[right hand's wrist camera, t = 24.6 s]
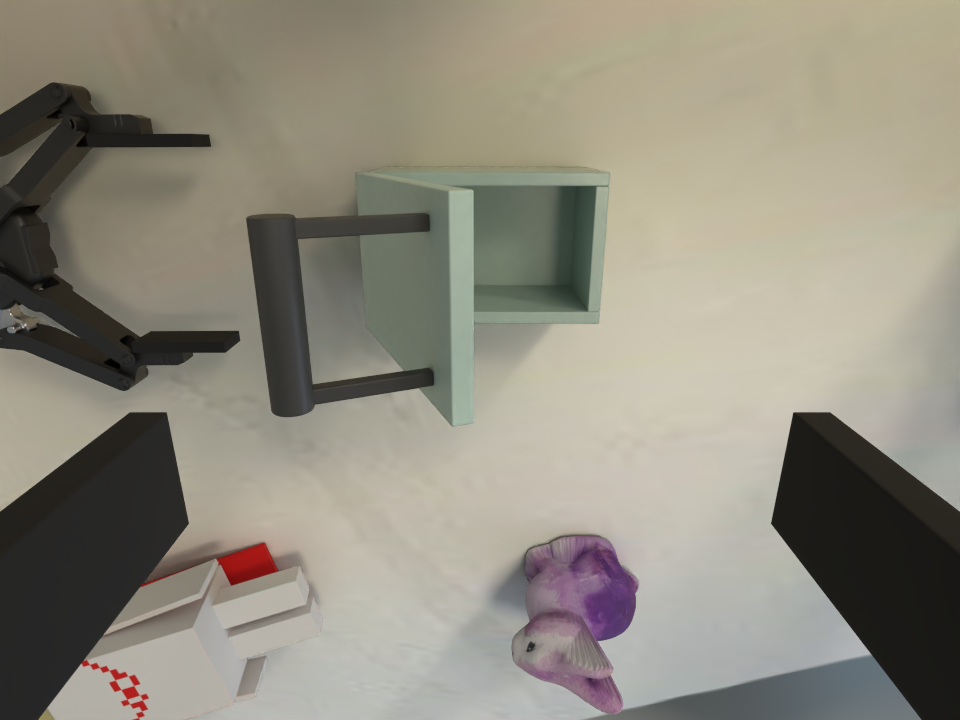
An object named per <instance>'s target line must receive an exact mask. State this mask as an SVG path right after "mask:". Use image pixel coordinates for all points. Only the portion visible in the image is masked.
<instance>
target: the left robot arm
mask: <svg viewBox="0 0 960 720" xmlns="http://www.w3.org/2000/svg"><path fill="white" fill-rule="evenodd" d="M90 101H91V95H90V93H89V91H88V90H87V89H86V88H84V87H82V86H75V85H69V84H62V83H54V82H53V83H50V84H48V85H47V86H45V87H44V88H42V89H41V90H39V91H37V92H36V93H34V94H33V95H31V96H29V97H28V98H26V99H25V100H23V101H22V102H20V103H18V104H17V105H15V106H14V107H12V108H11V109H9V110H7V111H6V112H4V113H3V114H1V115H0V157H2V156H5V155H7V154H9V153H11V152H13V151H14V150H16V149H18V148H19V147H21V146H23V145H24V144H26V143H27V142H29V141H31V140H32V139H34V138H36V137H37V136H39V135H40V134H42V133H44V132H45V131H47V130H48V129H50V128H52V127H53V126H55V125H57V124H58V123H60V122H61V121H62V122H61V123H60V124H59V126H58V127H57V128H56V129H55V130H54V131H53V133H52V134H51V135H50V136H49V137H48V138H47V140H46V141H45V142H44V143H43V144H42V145H41V147H40V148H39V149H38V150H37V151H36V152H35V153H34V155H33V156H32V157H31V158H30V159H29V160H28V162H27V163H26V164H25V165H24V166H23V167H22V169H21V170H20V171H19V172H18V173H17V174H16V175H15V177H14V178H13V179H12V180H11V181H10V182H9V183H8V184H7V185H5V186H3V187H1V188H0V348H6V349H16V350H24V351H27V352H29V353H32V354H34V355H36V356H39V357H41V358H44V359H46V360H49V361H51V362H53V363H56V364H58V365H61V366H63V367H66V368H68V369H70V370H73V371H75V372H78V373H80V374H83V375H85V376H87V377H90V378H92V379H95V380H97V381H99V382H102V383H104V384H107V385H109V386H112V387H114V388H116V389H119V390H122V391H126V390H128V389H130V388H131V387H133V386H134V385H136V384H137V383H139V382H140V381H141V380H143V379H144V378H146V377H147V376H148V369H147V368H146V367H147V365H179V364H181V363H184V362H185V361H187V360H188V359H189V358H191V357H192V356H193V353H226V352H227V351H228V350H229V349H230V348H232V347H233V346H234V345H235V344H237V343H238V342H239V341H240V336H239V331H151V332H149V333H147V334H145V335H144V336H142V337H139V336H138V335H136V334H135V333H133V332H132V331H130V330H129V329H128V328H126V327H125V326H123V325H122V324H120V323H119V322H117V321H116V320H114V319H113V318H111V317H110V316H109V315H107V314H106V313H104V312H103V311H101V310H100V309H98V308H97V307H95V306H94V305H93V304H91V303H90V302H88V301H87V300H85V299H84V298H82V297H81V296H79V295H78V294H77V293H75V292H74V291H73V287H72V286H71V285H70V284H69V283H67V282H66V281H64V280H63V279H61V278H60V277H59V276H57V275H56V274H54V268H57V267H58V264H57V260H56V256H55V255H54V253H53V251H52V249H51V247H50V233H49V229H48V225H47V223H43V222H42V220H41V219H40V217H39V216H38V215H37V214H38V213H39V212H40V211H41V210H42V209H43V208H44V206H45V205H46V204H47V203H48V202H49V201H50V199H51V197H50V195H51V194H52V193H53V191H54V190H55V189H56V188H57V187H58V186H59V185H60V184H61V182H62V181H63V180H64V179H65V178H66V177H67V176H68V175H69V173H70V172H71V171H72V170H73V169H74V168H75V167H76V166H77V164H78V163H79V162H80V161H81V160H82V159H83V158H84V157H85V155H86V154H87V153H88V152H89V151H90V150H91V149H92V148H93V147H211V144H210V137H209V135H204V134H153V130H152V125H151V119H149V118H147V117H144V116H141V115H101V114H99V113H97V112H96V111H95V110H94V108H93V107H92V105H91V103H90ZM41 287H42V288H43V290H39V289H40V288H41ZM21 304H23V305H24V306H26V307H27V308H29V309H31V310H33V311H38V312H42V313H44V314H46V315H47V316H49V317H50V318H52V319H53V320H55V321H56V322H58V323H59V324H61V325H62V326H64V327H65V328H67V329H68V330H70V331H71V332H73V333H74V334H76V335H77V336H79V337H80V338H79V337H76V336H74V335H71V334H69V333H67V332H64V331H62V330H60V329H57V328H54V327H52V326H48V325H44V324H39V320H38V319H37V318H36V317H30V316H27V315H25V314H23V313H22V312H21V311H20V309H19V305H21ZM81 338H82V339H81Z"/></svg>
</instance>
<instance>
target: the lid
mask: <svg viewBox="0 0 960 720" xmlns="http://www.w3.org/2000/svg"><path fill="white" fill-rule="evenodd" d="M355 176H356V191H357V206H358V216H338V217H315V218H295V216H294V215H290V214H261V215H252V216H249V217H247V218H246V220H247V228H248V236H249V243H250V251H251V259H252V266H253V274H254V281H255V289H256V297H257V304H258V312H259V319H260V327H261V335H262V342H263V350H264V358H265V365H266V373H267V380H268V388H269V396H270V403H271V411H272V413H273V414H275V415H277V416H280V417H295V416H300V415H304V414H306V413H308V412H310V411H312V410H313V408H314V406H315V404H322V403H328V402H334V401H341V400H347V399H353V398H359V397H366V396H372V395H378V394H384V393H391V392H397V391H403V390H410V389H416V388H419V389H420V390H421V391H422V392H423V393H424V395H425V396H426V397H427V398H428V399H429V400H430V402H431V403H432V404H433V405H434V406H435V407H436V409H437V410H438V411H439V412H440V413H441V414H442V416H443V417H444V418H445V419H446V420H447V421H448V422H449V424H450V425H451V426H452V427H455V426H460V425H465V424H470V423H473V422H474V226H473V190H470V189H465V188H459V187H453V186H447V185H442V184H436V183H430V182H424V181H419V180H413V179H407V178H401V177H396V176H390V175H384V174H378V173H373V172H357V173H356V174H355ZM358 235H359V236H360V251H361V265H362V280H363V295H364V310H365V325H366V327H367V329H368V330H369V331H370V332H371V333H372V334H373V336H374V337H375V338H376V339H377V340H378V341H379V342H380V344H381V345H382V346H383V347H384V348H385V349H386V351H387V352H388V353H389V354H390V355H391V356H392V358H393V359H394V360H395V361H396V362H397V363H398V365H399V366H400V367H401V368H402V369H403V370H404V371H402V372H395V373H388V374H381V375H374V376H368V377H361V378H354V379H347V380H340V381H334V382H327V383H320V384H313V383H312V374H311V364H310V354H309V345H308V335H307V325H306V315H305V306H304V296H303V286H302V277H301V267H300V257H299V248H298V239H305V238H323V237H341V236H358Z"/></svg>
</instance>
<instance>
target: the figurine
mask: <svg viewBox="0 0 960 720" xmlns="http://www.w3.org/2000/svg"><path fill="white" fill-rule="evenodd" d="M525 563H526V564H525V573H526V576H527V580H528V581H529V582H530V584H529V585H528V588H527V591H526V608H527V613H528V616H529V619H530V622H529V623H528V624H527V625H526V626H525V627H523V628H522V629H521V630H520V631H519V632H518V633H517V634H516V635H515V636H514V637H513V640H512V657H513V661H514V662H515V664H516V665H517V666H519V667H520V668H522V669H523V670H524V671H526V672H527V673H529V674H530V675H532V676H534V677H536V678H538V679H540V680H543V681H547V682H551V683H555V684H558V685H561V686H563V687H565V688H567V689H568V690H570V691H571V692H573V693H574V694H576V695H578V696H579V697H580V698H581V699H583V700H584V701H585V702H587V703H589V704H590V705H592V706H594V707H595V708H596V709H599V710H600V711H602V712H605V713H609V714H610V713H611V714H613V715H614V714H617V713H619V712H620V711H621V710H622V708H623V701H622V697H621V694H620V693H619V691H618V689H617V687H616V685H615V683H614V681H613V679H612V677H611V674H612V672H613V667H612V665H611V664H610V662H609V660H608V659H607V657H606V655H605V654H604V652H603V650H602V649H601V647H600V645H599V644H598V642H597V641H602V640H607V639H611V638H613V637H616V636H618V635H620V634H622V633H623V632H624V631H625V630H626V629H627V628H628V627H629V625H630V623H631V621H632V619H633V616H634V612H635V608H636V596H635V593H636V592H637V591H638V589H639V581H638V579H637V578H636V576H635V575H633V574H632V573H630V572H628V571H627V570H625V569H624V568H622V567H621V566H620V564H619V562H618V559H617V555H616V552H615V549H614V547H613V546H612V544H611V543H610V542H609V541H607V540H605V539H603V538H601V537H598V536H568V537H561V538H559V539H557V540H554V541H553V542H551V543H549V544H546V545H541V546H537V547H534V548H532V549H530V550H529V551H528V553H527V554H526V562H525Z"/></svg>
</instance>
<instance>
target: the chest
mask: <svg viewBox="0 0 960 720" xmlns="http://www.w3.org/2000/svg"><path fill="white" fill-rule="evenodd" d="M368 172H373V173H378V174H384V175H390V176H396V177H401V178H407V179H413V180H419V181H424V182H430V183H436V184H442V185H447V186H453V187H459V188H465V189H470V190H473V226H474V323H535V324H598V323H599V317H600V312H599V311H600V304H601V291H602V277H603V264H604V250H605V237H606V223H607V210H608V196H609V182H610V173H609V172H605V171H600V170H596V169H591V168H587V167H385V168H381V169H376V170H372V171H368Z"/></svg>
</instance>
